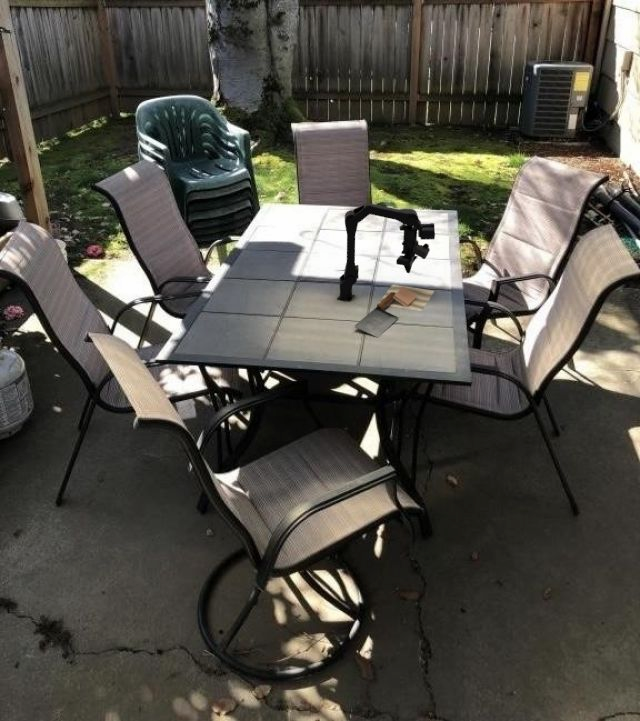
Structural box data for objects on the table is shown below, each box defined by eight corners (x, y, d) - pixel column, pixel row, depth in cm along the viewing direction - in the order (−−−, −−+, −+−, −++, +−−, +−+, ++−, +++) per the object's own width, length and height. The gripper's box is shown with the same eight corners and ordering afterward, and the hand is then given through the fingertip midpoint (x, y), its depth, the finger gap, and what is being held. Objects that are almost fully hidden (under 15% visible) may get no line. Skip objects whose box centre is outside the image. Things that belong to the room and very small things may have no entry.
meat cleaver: (378, 337, 265) (378, 329, 263) (353, 330, 270) (353, 322, 268) (413, 303, 289) (413, 295, 287) (390, 298, 294) (390, 290, 292)
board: (421, 313, 283) (421, 311, 282) (377, 306, 290) (377, 304, 289) (434, 292, 300) (434, 290, 299) (392, 286, 307) (392, 284, 306)
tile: (415, 298, 293) (406, 307, 286) (402, 289, 294) (392, 297, 287) (417, 295, 292) (408, 304, 285) (403, 286, 293) (394, 294, 286)
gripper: (422, 249, 272) (420, 283, 280) (434, 234, 287) (431, 267, 295) (396, 245, 276) (395, 280, 284) (409, 231, 291) (407, 264, 299)
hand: (408, 272), depth 290 cm, fingers closed
